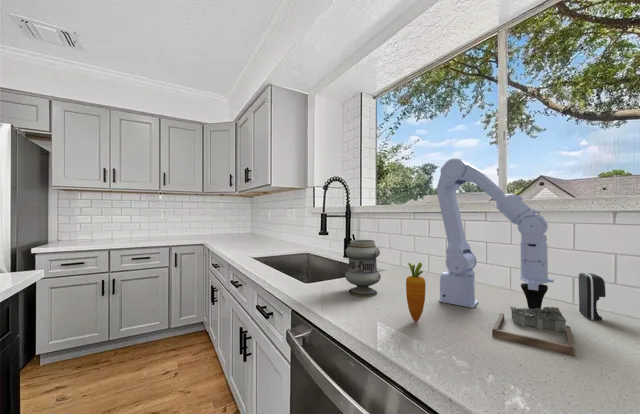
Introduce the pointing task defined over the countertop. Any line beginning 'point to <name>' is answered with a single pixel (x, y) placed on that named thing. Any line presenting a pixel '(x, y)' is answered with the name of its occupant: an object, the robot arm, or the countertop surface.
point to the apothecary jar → (362, 267)
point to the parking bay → (534, 339)
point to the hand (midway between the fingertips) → (534, 312)
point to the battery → (590, 294)
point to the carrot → (415, 292)
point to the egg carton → (539, 318)
